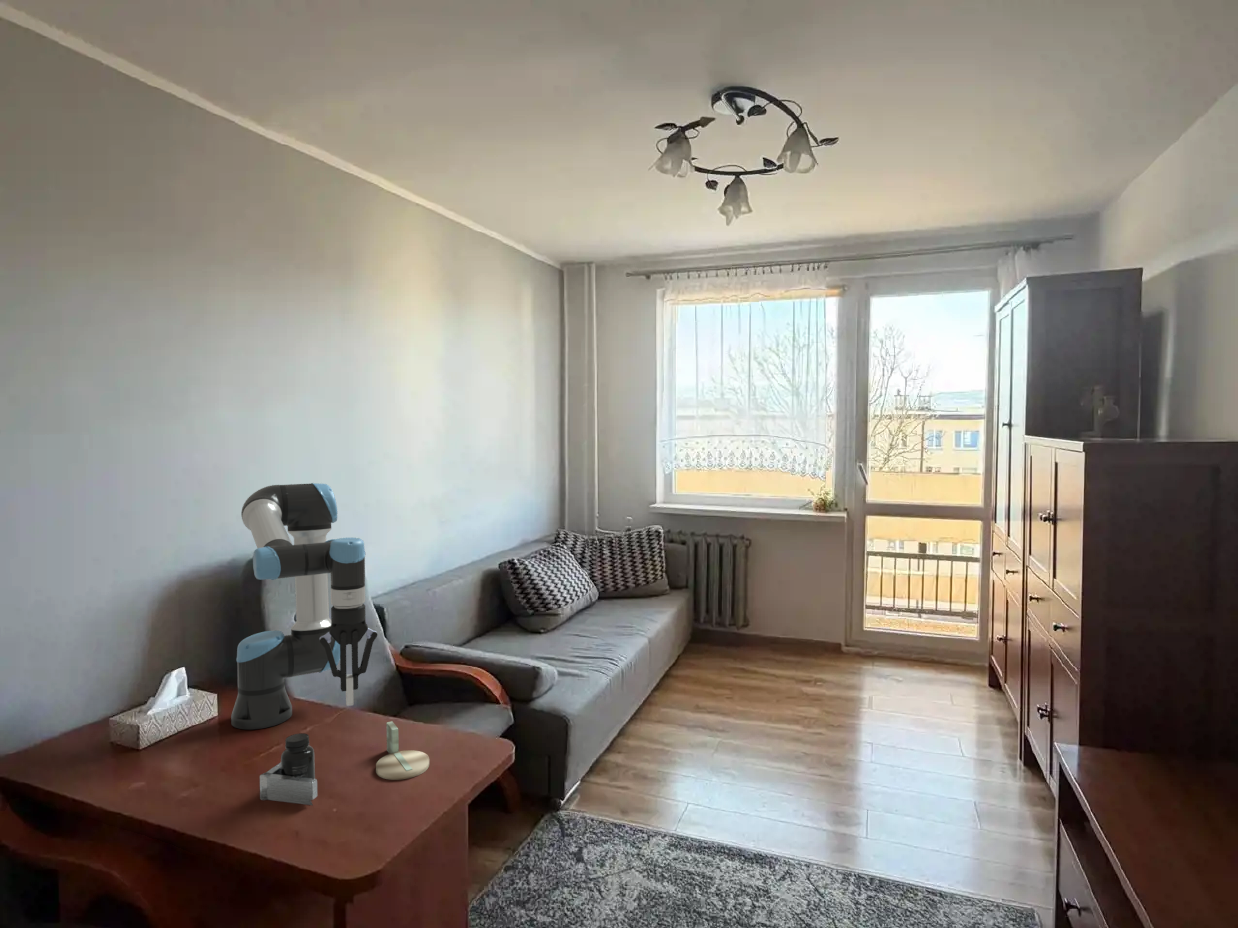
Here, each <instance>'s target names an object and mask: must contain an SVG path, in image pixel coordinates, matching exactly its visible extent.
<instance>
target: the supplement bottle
mask: <svg viewBox="0 0 1238 928" xmlns="http://www.w3.org/2000/svg"><path fill="white" fill-rule="evenodd" d="M284 742H285V746H284V748H285V750H283V751H282V753H281V755H280V762H281V775H286V776H294V777H303V778H312V779H316V772H315V771H316V770H315V769H316V768H315V765H316V764H315V749H314V748H313V746H311V745H310V736H309V734H307V733H295V734H291V735H288V736H287V737H286V738H285V741H284Z"/></svg>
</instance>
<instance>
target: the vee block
mask: <svg viewBox="0 0 1238 928" xmlns="http://www.w3.org/2000/svg"><path fill="white" fill-rule="evenodd" d="M317 797H318V779H317V778H315V779H312V778H303V777H294V776H286V775H281V761H280V762H279V763H277V764H276V765H274V766H273V767H272V768H270V769H269V770H268V771H266V772H264V773H262V774H260V775H259V799H260V800H261V801H276V802H284V803H290V804H300V805H307V806H314V805H313V802H312V801H313V800H314V799H316V798H317Z"/></svg>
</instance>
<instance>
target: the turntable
mask: <svg viewBox="0 0 1238 928" xmlns="http://www.w3.org/2000/svg"><path fill="white" fill-rule="evenodd" d="M399 740H400V739H399V728H398V727H397V726H396V724H395V723H394V722H393V720H391V721H388V722H386V751H387V752H388V754H386V755H384V756H382V757H381V758H379V760H378V761H376V763H375V773H376V775H377V776H378V777H379V778H382V779H384V780H385V779H386V780H390V781H401V780H408V779H412V778H414V777H418V776H420V775H421V774H423V773H425V772H427V770H428V768H429V767H430V757H429V755H428V754H427V753H425V752H423V751H419V750H413V749H412V750H411V749H410V750H399V747H400V745H399V742H400V741H399Z"/></svg>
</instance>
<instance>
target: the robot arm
mask: <svg viewBox="0 0 1238 928" xmlns="http://www.w3.org/2000/svg"><path fill="white" fill-rule="evenodd" d="M241 520H242V523H243V525H244V526H245V527H246V529H248V530H249V531H250V532H251V536H252V537H253V540H254V542H255V545H256V549H254V550H253V555H252V567H253V568H252V569H253V573H254V577H255V578H256V580H261V581H262V580H264V581H265V580H272V581H274V580H278V579H285V578H286V579H287V578H294V580H295V581H294V582H295V610H296V621H295V623H294V624H293V625H292V626H291V627H290V630H291V631H290V633H291V634H286V635H285V634H284V632H283V631H282V630H277V629H275V630H266V631H262V632H258V633H254V634H252V635H250V636H247V637H245V638H244V639H242V640H241V641H240V642H239V643H238V645H237V649H236V650H237V651H236V658H235V660H236V663H237V665H236V666H237V697H236V700H235V703H234V706H233V709H232V712H231V716H230V718H231V719H230V721H231V726H232V727H234V728H236V729H240V730H260V729H266V728H271V727H274V726H277V725H279V724H282V723H284V722H287V721H288V720H289V719H291V717H292V716H293V705H292V703H291V701H290V698H289V696H288V692H287V690H286V686H285V682H286V681H285V679H287V678H292V677H297V676H298V677H300V676H304V675H310V674H317V673H318V674H319V673H320V674H321V673H323V672H326V671H331V674H332V676H333V677H334V678H340V691H341V692H345V705H346V707H349V706H354V691H355V690H356V691H357V690H359V676H360V675H362V674H365V673H366V672H367V670H368V665H369V660H370V657H371V652H372V649H373V645H374V642H375V640H376V638H377V637H378V632H377V630H376V629H371V628H369V626H368V624H367V622H366V605H365V604H364V603H365V602H366V572H365V571H366V567H365V566H366V550H365V542H364V540H363V539H361V538H360V537H358V538H357V537H339V538H334V539H333V538H332V539H328V540H327V535H328V533H330V531H331V530H332V524H334V523H336V522H337V521H338V506H337V501H336V497H335V494H334V490H333V489H332V487H331V486H330V485H328V484H327V483H314V482H311V483H294V484H292V483H291V484H272V485H268V486H264V487H262V488H260V489H258V490H256V491H254V492H253V493H252V494H251V495H249V496H248V497H247V499H246V500H245V502H244V503H243V505H242V508H241ZM285 526H286V527H287V529H286V528H285ZM289 535H290V536H291V537H293V543H292V540H291V538H290V536H289ZM328 574H330V604H331V606H332V607H330V606H329V580H328V578H329V577H328ZM329 609H330V610H329ZM364 636H365V637H366V641H365V646H364V650H363V653H362V657H361V663H360V666H359V643H360V641H361V640H362V638H363V637H364ZM349 645H351V674H347V646H349ZM337 666H339V667H340V668H339V669H338V667H337Z"/></svg>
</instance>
